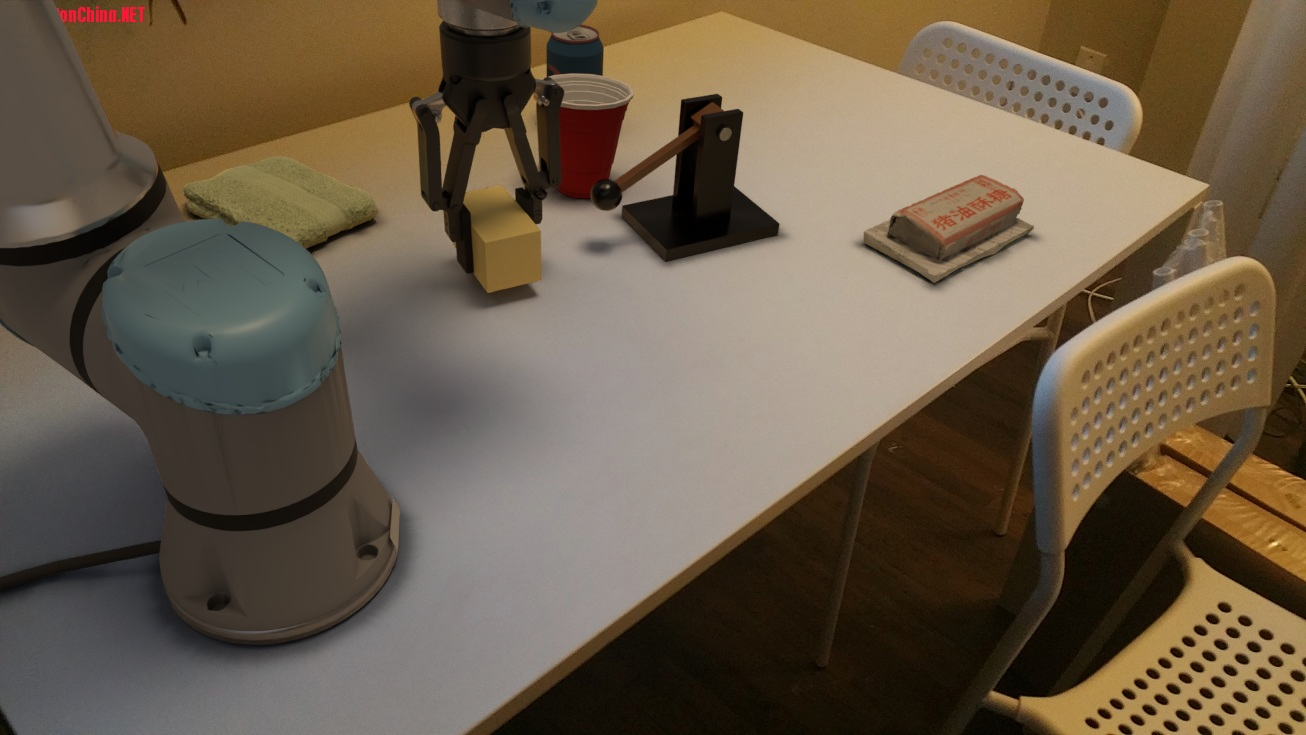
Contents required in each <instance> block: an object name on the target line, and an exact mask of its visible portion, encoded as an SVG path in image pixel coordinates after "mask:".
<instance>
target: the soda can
mask: <svg viewBox="0 0 1306 735" xmlns="http://www.w3.org/2000/svg"><path fill="white" fill-rule="evenodd" d="M550 33H551V34H550V37H549V39H548V40H547V43H546V46H545V47H546V77H550V76H553V75H561V74H572V73H573V74H593V75H599V76H604V51H605V50H604V45H603V42H602V41H601V38H600V32H599V30H598V29H597V28H595V27H594V26H593V27H592V26H590V25H586V24H581V25H580V26H578V27H577V28H575V29H573V30H571V31H568V32H564V33H553V32H550Z"/></svg>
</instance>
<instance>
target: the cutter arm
mask: <svg viewBox="0 0 1306 735" xmlns="http://www.w3.org/2000/svg"><path fill="white" fill-rule="evenodd" d="M722 111H725V110H724V109H723V108H722V107H721V108H720V107H719V106H717V105H716V104H715V103H713V102H711V103H710V104H708V105H707V106H706V107H704V108H703V109H701V110H700V111H698V112H697V113H695V114H694V115H693V116H691V120H692V122H693V124H694V126H692V127H691V128H689V129H688V130H686V131H685V132H684V133H682V134H681V135H679V136H678V135H677V136H676V137H675V138H674V139H672V140H671V141H669V142H668V143H666V144H665V145H663V146H662V147H661V148H659V149H658V150H656V151H655V152H653V153H652V154H651V155H649V156H647V157H646V158H645V159H644V160H642V161H641V162H639V163H637V164H636V165H635V166H633V167H631V168H630V169H629V170H628V171H626V172H625V173H623V174H622V175H621V176H618V178H616V179H615V180H614V179H611V178H609V179H601V180H599V181H597V182H596V183H595V184H594V185H593V187H592V189H591V193H590V196H591V198H590V201H591V203H592V204H593V206H594V207H595V208H596V209H598V210H600V211H602V212H610V211H613V210H615V209H616V208H618V207H619V206H620V204H621V202H622V200H623V193H624V192H626V190H628V189H629V188H631V187H632V186H634V185H635V184H637V183H638V182H639V181H641V180H642V179H644V178H646V177H647V176H649V175H650V174H651V173H652V172H654V171H655V170H657V169H658V168H660V167H661V166H663V165H664V164H665V163H666V162H668V161H670V160H672V159H673V158H674V157H676V155H677V154H678V153H680V152H681V151H682V150H684V149H685V148H687V147H688V146H690V145H691V144H692V143H694V142H695V141H697V140H698V139H699V133H700V123H701V115H704V114H710V113H716V112H722Z"/></svg>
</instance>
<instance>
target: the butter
mask: <svg viewBox="0 0 1306 735" xmlns="http://www.w3.org/2000/svg"><path fill="white" fill-rule="evenodd" d="M463 203H464V205H465V206H466V207H467V209H468V210H469V211H470V213H471V232H472V247H473V263H474V273H473V275H474V276H475V278H476V280H478V281H479V283H480V284H481V286H482V288H483V289H484V290H485V291H486V293H487V294H490V293H494V292H498V291H502V290H506V289H509V288H515V287H518V286H523V285H528V284H531V283H535V282H539V281H542V276H543V275H542V230H541V229H540V227H539V226H538V224H535V223H534V222H533V221H532V219H531V218H530V217H529V216H528V215H527V214H526V212H525V211H524V210H523V209H522V208H521V206H520V205H519V204H518V203H517V202H516V201H515V197H513V196H512V194H511V193H510V192H509V191H508V190H507V189H506V188H505V186H504V185H503V184H501V185H496V186H491V187H490V186H489V187H486V188H479V189H475V190H469V191H466V193H465V197H464V202H463ZM452 245H453V246H454V247H455V249H456V242H453V243H452Z"/></svg>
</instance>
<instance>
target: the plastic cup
mask: <svg viewBox="0 0 1306 735" xmlns="http://www.w3.org/2000/svg"><path fill="white" fill-rule="evenodd" d="M544 78H545V77H543V78H540V80H543V79H544ZM550 78H552V79H553V80H554V81H555V82H556V83H557V84H558V85H560V86H561V87H562V88H563V89H564V97H563V100H562V103H561V107H560V110H559V127H560V152H561V177H562V181H561V184H560V185H559V186H558V187H556V188H557V190H558V191H559V192H560V193H561V194H563V195H564V196H567V197H570V198H575V199H591V196H590V193H591V189H592V187H593V185H594V184H595V183H596V182H597V181H599V180H601V179H611V178H610V177H611V172H612V168H613V164H614V163H615V158H616V153H617V149H618V145H619V139H620V134H621V131H622V126H623V122H624V120H625V116H626V112H627V111H628V107H629V104H630V102H631V100H633V98H634V95H635V92H634V89H633V87H632V86H630V85H629V84H628V83H626V82H625V81H622V80H619V79H616V78H614V77H610V76H605V75H603V76H599V75H593V74H573V73H572V74H561V75H553V76H550Z"/></svg>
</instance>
